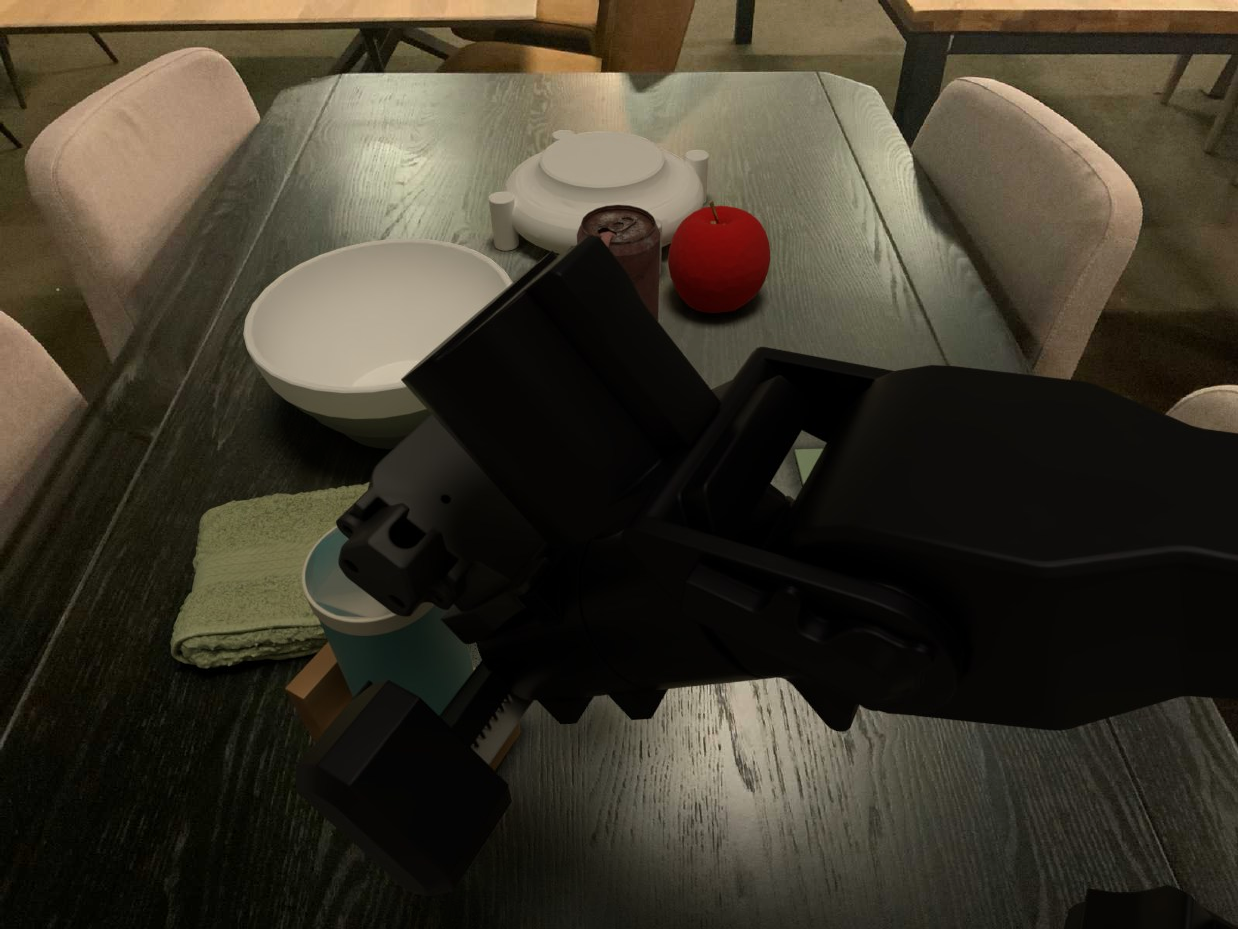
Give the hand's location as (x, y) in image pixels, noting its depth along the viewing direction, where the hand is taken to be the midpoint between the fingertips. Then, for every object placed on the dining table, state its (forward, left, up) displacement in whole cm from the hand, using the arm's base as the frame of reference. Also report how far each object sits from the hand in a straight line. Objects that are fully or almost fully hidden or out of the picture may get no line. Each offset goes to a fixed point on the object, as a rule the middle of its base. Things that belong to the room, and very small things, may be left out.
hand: (430, 648), depth 39 cm
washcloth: (+16, -5, -12) cm, 21 cm away
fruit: (+12, -47, -12) cm, 50 cm away
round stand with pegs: (+29, -53, -12) cm, 62 cm away
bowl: (+25, -20, -12) cm, 34 cm away
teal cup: (+2, 0, -7) cm, 7 cm away
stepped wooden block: (+2, 0, -12) cm, 12 cm away
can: (+13, -33, -12) cm, 38 cm away
